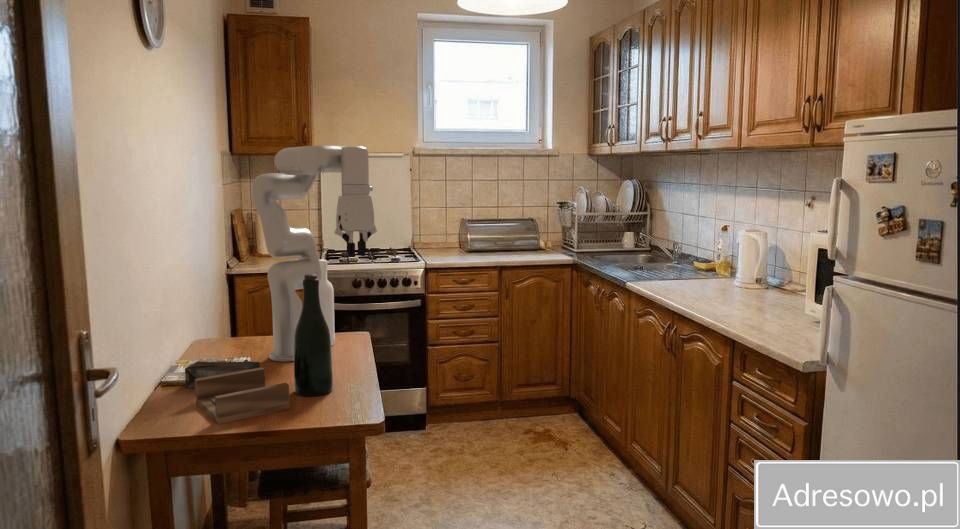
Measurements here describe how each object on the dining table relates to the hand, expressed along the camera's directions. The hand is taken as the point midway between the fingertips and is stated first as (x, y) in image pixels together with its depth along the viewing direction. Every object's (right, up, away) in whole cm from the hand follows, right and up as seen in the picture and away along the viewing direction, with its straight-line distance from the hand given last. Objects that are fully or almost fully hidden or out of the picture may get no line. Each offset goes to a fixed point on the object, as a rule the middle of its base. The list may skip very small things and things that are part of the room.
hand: (356, 255), depth 195 cm
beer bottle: (-11, -38, -3) cm, 40 cm away
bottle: (-20, -31, +47) cm, 59 cm away
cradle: (-27, -40, -15) cm, 50 cm away
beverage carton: (-38, -37, +2) cm, 54 cm away
